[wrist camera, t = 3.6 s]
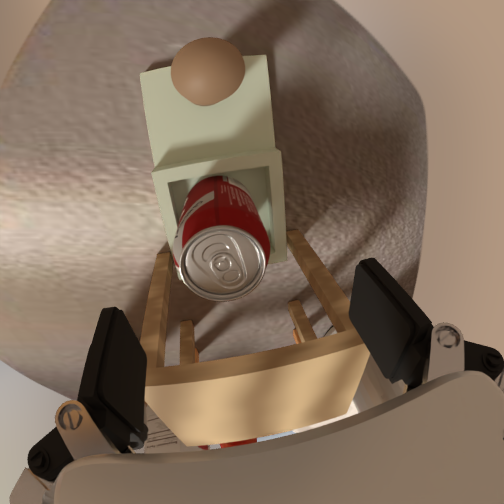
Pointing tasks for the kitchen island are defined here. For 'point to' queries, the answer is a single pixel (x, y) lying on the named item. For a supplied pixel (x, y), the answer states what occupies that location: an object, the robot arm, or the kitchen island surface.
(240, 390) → the wooden stool
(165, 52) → the kitchen island surface
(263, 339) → the kitchen island surface
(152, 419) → the supplement box
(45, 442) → the robot arm
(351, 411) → the plate
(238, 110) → the tan cylinder on base
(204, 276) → the soda can
